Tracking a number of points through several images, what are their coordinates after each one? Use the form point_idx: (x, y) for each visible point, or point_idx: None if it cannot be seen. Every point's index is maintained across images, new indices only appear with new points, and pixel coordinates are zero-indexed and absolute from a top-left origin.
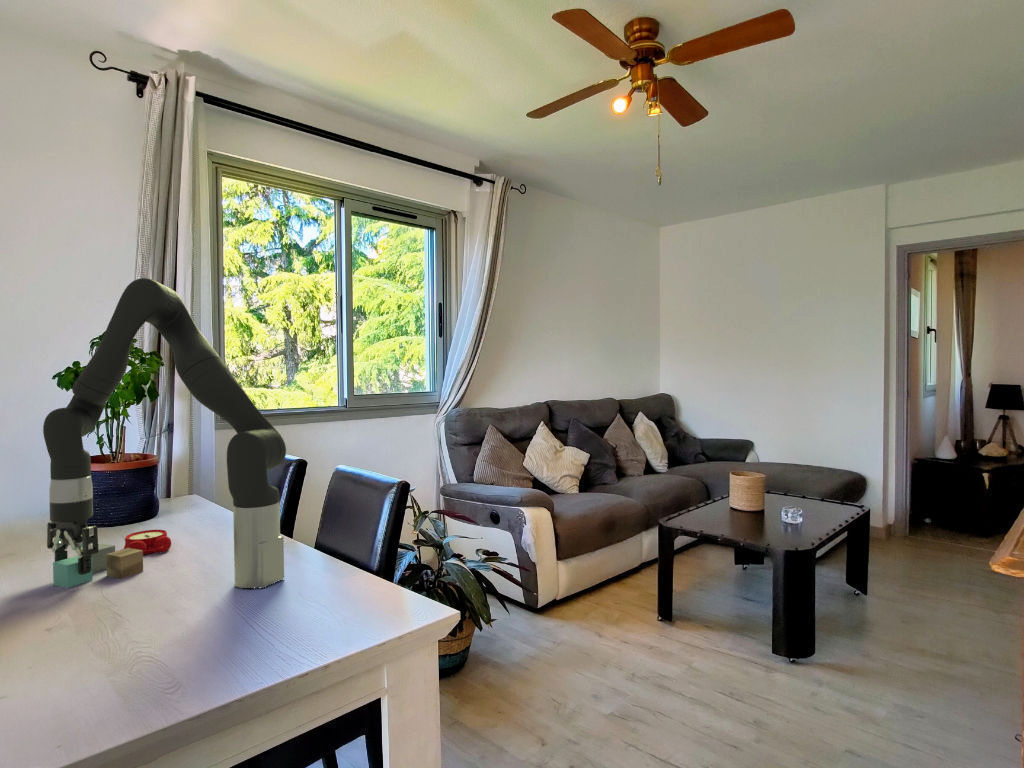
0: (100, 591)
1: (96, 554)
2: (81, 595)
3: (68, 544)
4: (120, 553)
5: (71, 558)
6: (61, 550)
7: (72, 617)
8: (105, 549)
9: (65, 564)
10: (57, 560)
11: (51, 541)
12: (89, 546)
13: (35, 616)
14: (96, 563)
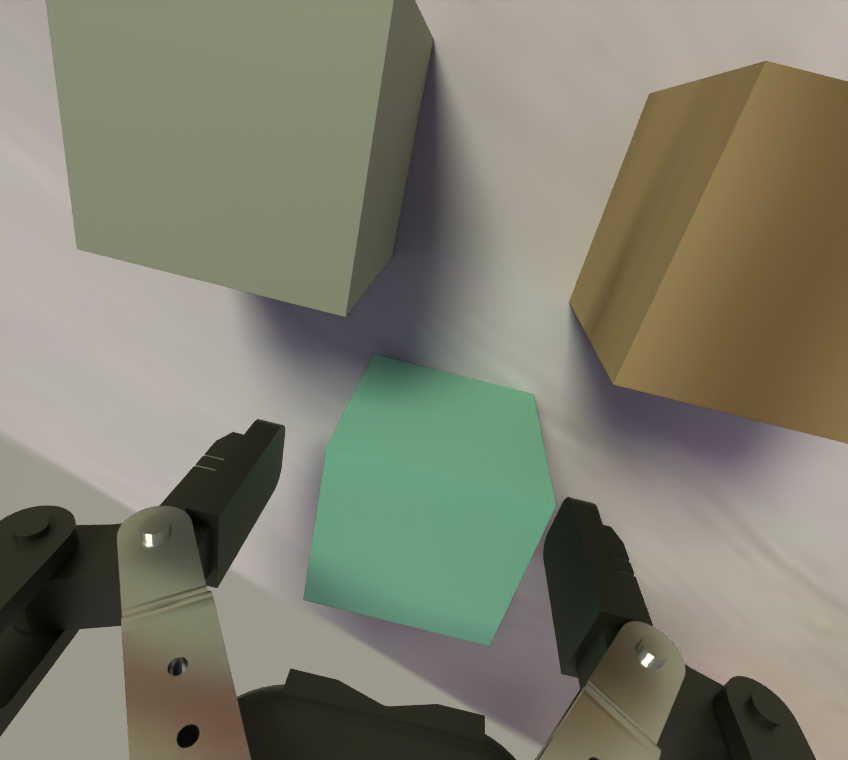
0: (748, 544)
1: (365, 262)
2: (669, 589)
3: (205, 585)
4: (798, 342)
5: (351, 519)
6: (202, 565)
7: (816, 753)
8: (373, 144)
9: (456, 632)
10: (247, 526)
11: (37, 674)
12: (655, 734)
13: None
14: (385, 243)
